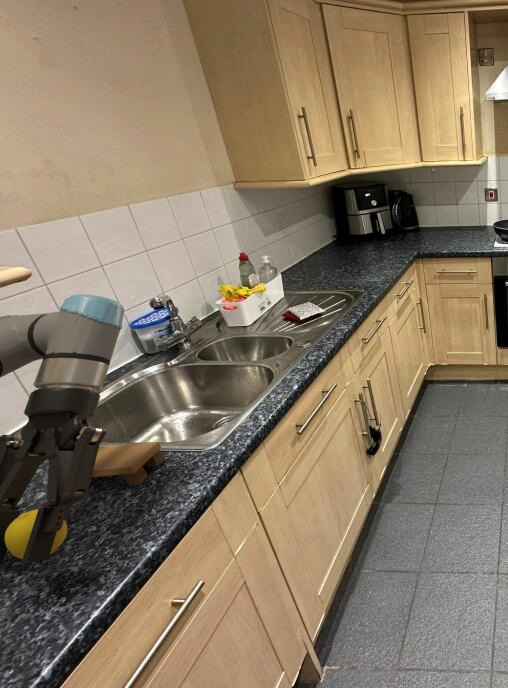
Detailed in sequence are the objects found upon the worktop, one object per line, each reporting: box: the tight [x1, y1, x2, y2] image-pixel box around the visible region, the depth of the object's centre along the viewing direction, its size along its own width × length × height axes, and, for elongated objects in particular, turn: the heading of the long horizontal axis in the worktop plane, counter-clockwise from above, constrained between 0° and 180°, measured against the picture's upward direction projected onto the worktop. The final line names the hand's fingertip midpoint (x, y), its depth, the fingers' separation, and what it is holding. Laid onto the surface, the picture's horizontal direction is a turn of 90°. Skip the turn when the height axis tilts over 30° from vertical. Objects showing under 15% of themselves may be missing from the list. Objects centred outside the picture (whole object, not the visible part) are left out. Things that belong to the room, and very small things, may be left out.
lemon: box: [5, 509, 68, 560], centre depth 58 cm, size 6×6×8 cm
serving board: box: [75, 441, 166, 491], centre depth 82 cm, size 14×7×5 cm, turn 93°
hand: (12, 562), depth 55 cm, fingers closed on lemon, 5 cm apart
